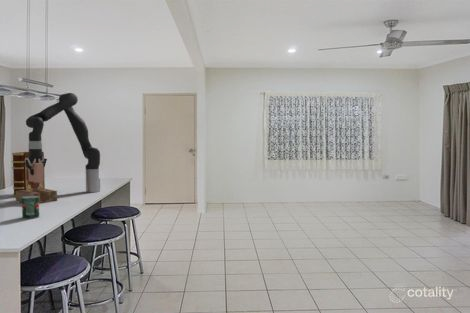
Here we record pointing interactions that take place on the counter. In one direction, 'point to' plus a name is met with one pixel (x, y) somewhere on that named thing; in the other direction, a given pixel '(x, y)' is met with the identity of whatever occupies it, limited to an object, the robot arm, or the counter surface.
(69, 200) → the counter surface
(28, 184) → the decorative book
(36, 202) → the canned tomato
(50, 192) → the book stand
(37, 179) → the pink rectangular block
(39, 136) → the robot arm
